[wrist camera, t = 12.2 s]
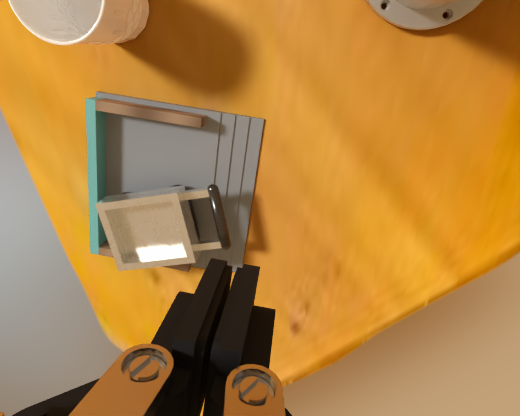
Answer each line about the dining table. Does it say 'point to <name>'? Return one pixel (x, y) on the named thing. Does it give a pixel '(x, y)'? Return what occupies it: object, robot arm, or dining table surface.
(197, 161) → the dock
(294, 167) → the dining table surface
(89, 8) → the white cup
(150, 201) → the trolley
